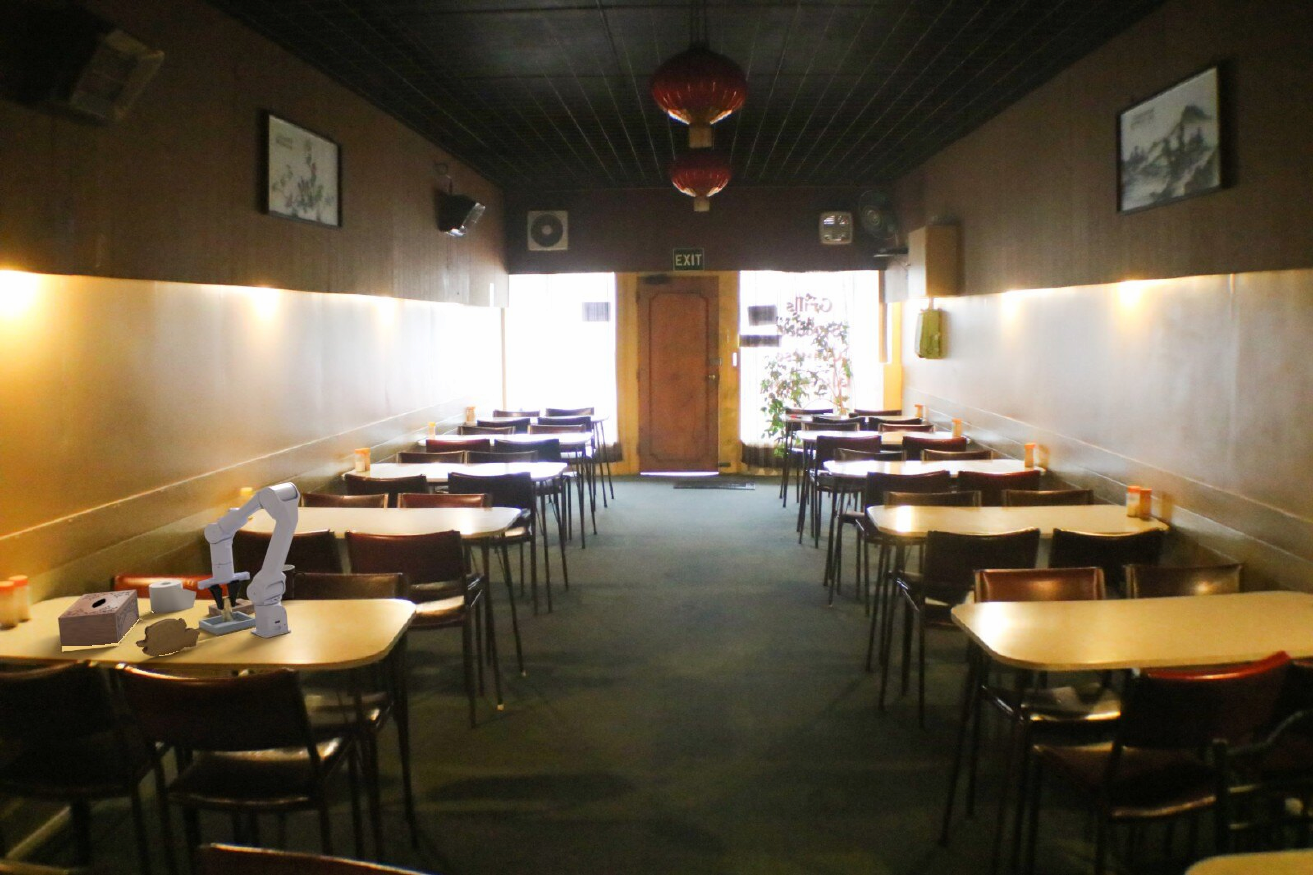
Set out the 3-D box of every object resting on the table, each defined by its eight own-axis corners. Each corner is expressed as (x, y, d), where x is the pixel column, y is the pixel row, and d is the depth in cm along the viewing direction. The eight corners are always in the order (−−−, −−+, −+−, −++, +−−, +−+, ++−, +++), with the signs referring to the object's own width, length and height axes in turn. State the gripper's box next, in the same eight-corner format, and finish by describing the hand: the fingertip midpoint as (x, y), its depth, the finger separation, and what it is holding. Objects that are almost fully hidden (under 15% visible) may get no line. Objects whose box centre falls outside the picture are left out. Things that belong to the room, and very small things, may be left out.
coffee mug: (262, 600, 338) (260, 570, 337) (283, 593, 345) (281, 564, 344) (289, 604, 332) (286, 573, 331) (309, 597, 340) (307, 567, 339)
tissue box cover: (118, 647, 296) (115, 612, 294) (61, 653, 292) (57, 618, 291) (139, 621, 320) (136, 589, 319) (87, 626, 317) (84, 594, 316)
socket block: (255, 613, 323) (254, 604, 323) (223, 621, 316) (222, 611, 316) (241, 607, 330) (240, 598, 330) (209, 615, 323) (208, 605, 323)
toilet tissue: (199, 608, 331) (196, 582, 330) (152, 616, 325) (149, 589, 324) (195, 602, 339) (193, 576, 338) (150, 609, 332) (147, 583, 331)
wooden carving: (194, 644, 294) (191, 610, 293) (202, 647, 291) (199, 612, 290) (134, 661, 282) (130, 624, 281) (141, 664, 279) (138, 627, 278)
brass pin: (234, 620, 309) (232, 597, 308) (224, 622, 307) (222, 599, 306) (230, 618, 311) (228, 595, 310) (220, 620, 309) (218, 597, 308)
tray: (257, 626, 309) (256, 618, 309) (216, 636, 301) (215, 628, 301) (239, 619, 318) (238, 611, 317) (199, 629, 309) (198, 620, 309)
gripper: (240, 555, 315) (244, 600, 317) (191, 565, 305) (195, 611, 306) (251, 559, 310) (255, 604, 312) (201, 569, 300) (206, 615, 301)
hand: (226, 607), depth 309 cm, fingers closed on brass pin, 3 cm apart
